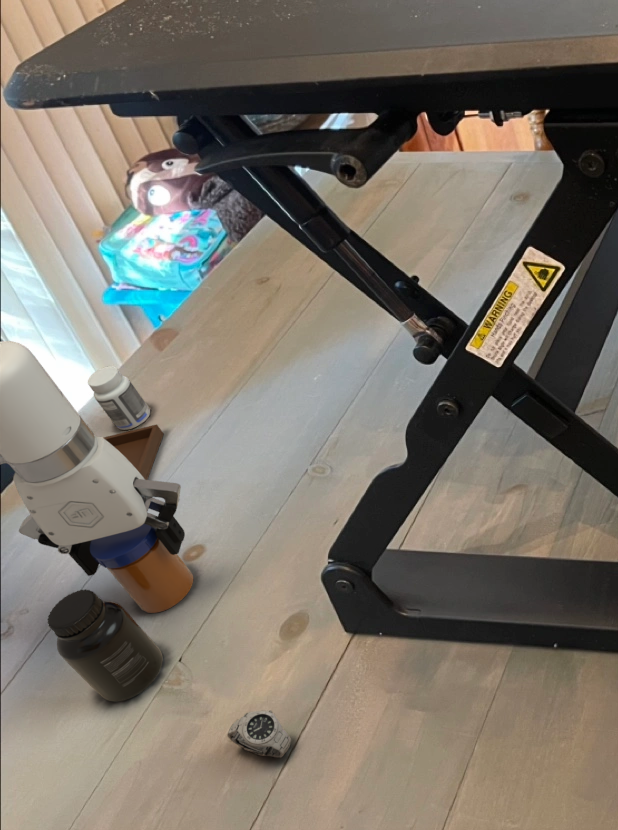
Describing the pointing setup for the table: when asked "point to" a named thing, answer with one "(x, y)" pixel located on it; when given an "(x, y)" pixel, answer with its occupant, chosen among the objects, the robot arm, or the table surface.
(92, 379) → the pill bottle
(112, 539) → the jar lid
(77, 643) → the supplement bottle
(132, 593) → the jam jar
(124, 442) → the walnut tray
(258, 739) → the wristwatch
